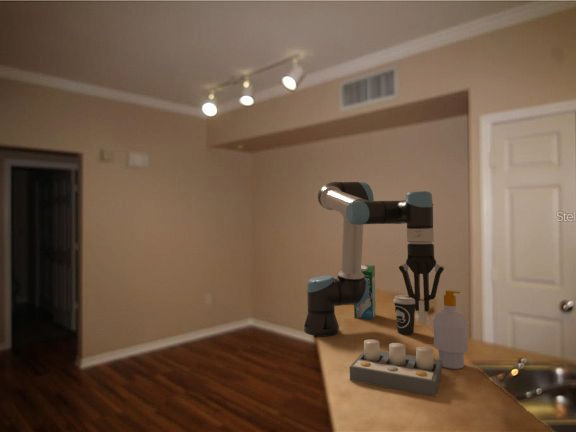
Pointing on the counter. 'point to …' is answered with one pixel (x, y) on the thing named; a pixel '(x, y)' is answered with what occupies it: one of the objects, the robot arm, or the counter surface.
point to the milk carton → (369, 306)
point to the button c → (424, 358)
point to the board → (397, 374)
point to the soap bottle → (451, 333)
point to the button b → (397, 354)
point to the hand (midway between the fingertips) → (422, 321)
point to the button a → (371, 350)
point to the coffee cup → (405, 314)
